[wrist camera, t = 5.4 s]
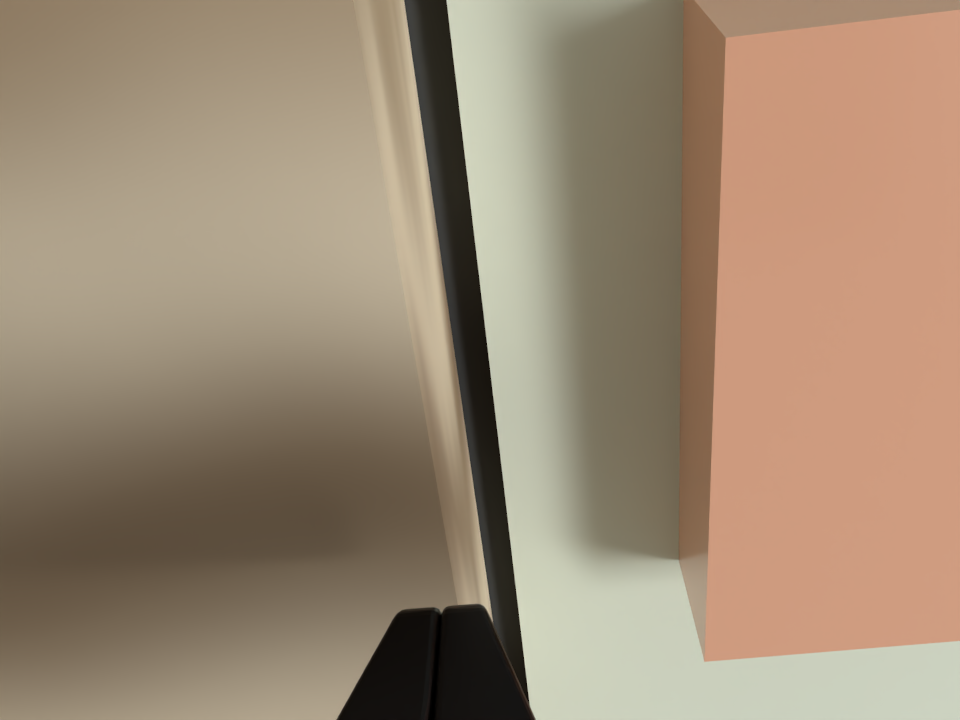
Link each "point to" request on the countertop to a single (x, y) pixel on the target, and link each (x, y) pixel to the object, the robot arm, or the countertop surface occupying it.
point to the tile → (820, 325)
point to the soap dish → (219, 359)
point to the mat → (613, 376)
